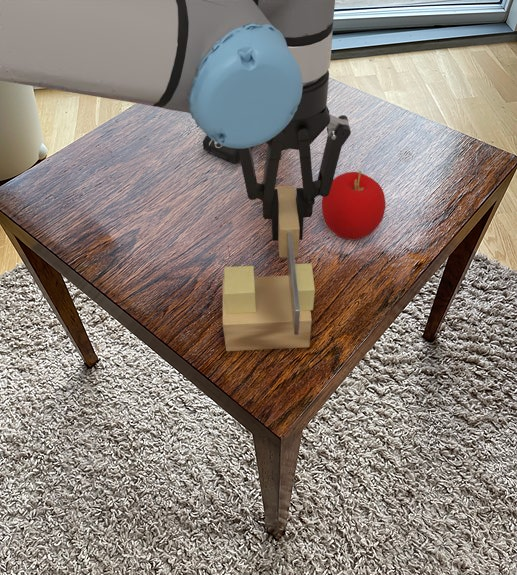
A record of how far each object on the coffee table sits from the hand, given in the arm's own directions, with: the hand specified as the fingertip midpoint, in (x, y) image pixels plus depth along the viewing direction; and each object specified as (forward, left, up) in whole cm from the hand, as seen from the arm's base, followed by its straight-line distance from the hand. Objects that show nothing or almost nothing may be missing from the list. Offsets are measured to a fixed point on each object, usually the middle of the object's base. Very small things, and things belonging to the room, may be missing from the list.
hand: (286, 232), depth 75 cm
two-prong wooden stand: (-3, -10, -7) cm, 13 cm away
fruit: (+10, +7, -7) cm, 14 cm away
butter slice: (+1, -10, -1) cm, 10 cm away
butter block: (-6, -10, -1) cm, 12 cm away
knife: (0, -6, 0) cm, 6 cm away
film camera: (-6, +29, -7) cm, 31 cm away
